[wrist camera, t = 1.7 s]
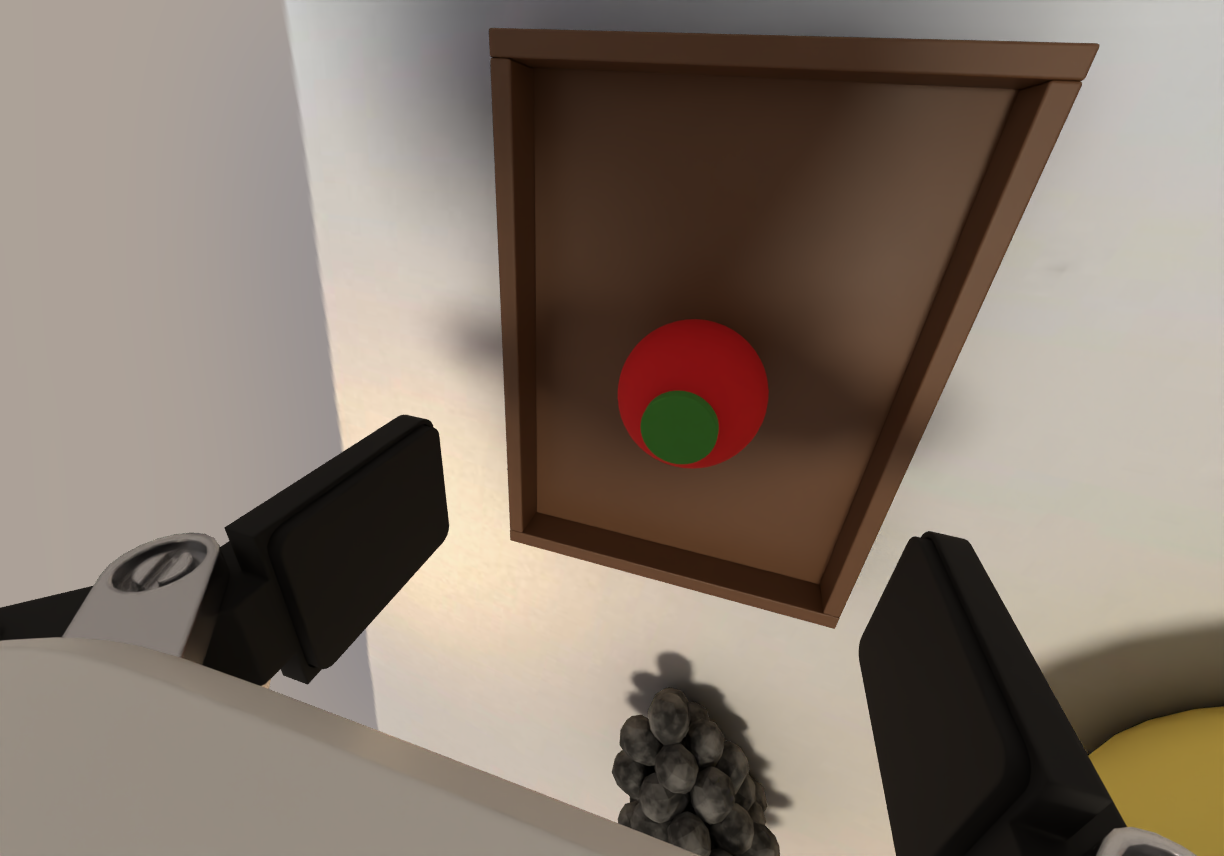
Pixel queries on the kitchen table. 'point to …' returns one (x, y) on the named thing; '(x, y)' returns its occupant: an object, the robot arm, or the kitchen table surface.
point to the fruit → (690, 782)
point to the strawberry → (693, 393)
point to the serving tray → (750, 277)
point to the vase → (1170, 777)
